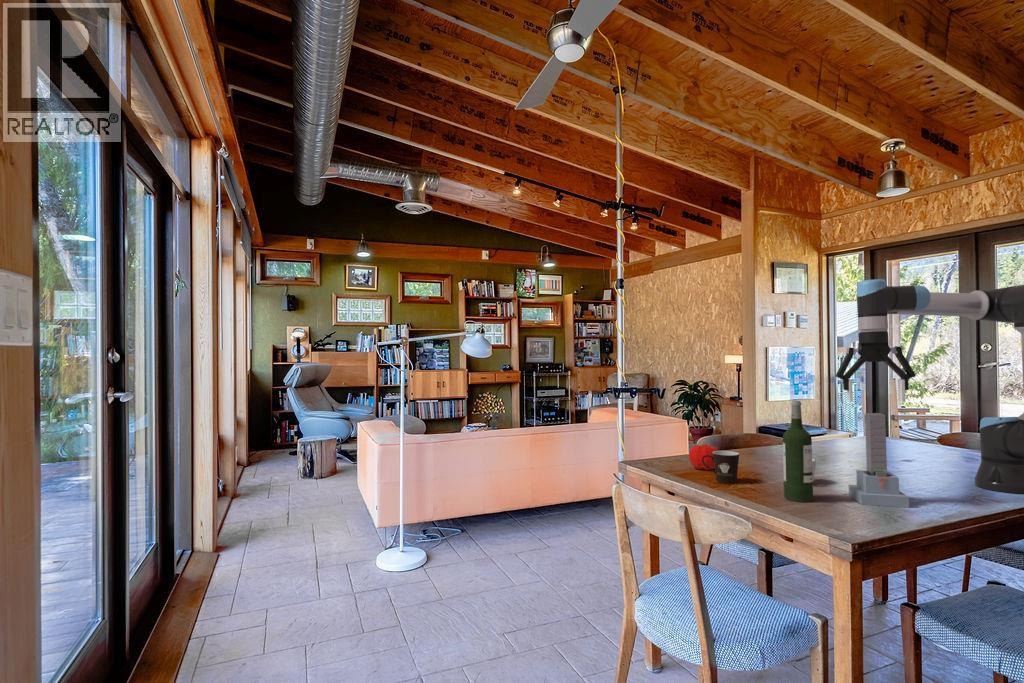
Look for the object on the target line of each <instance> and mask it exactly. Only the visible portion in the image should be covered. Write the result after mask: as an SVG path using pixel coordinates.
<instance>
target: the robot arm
mask: <svg viewBox="0 0 1024 683" xmlns="http://www.w3.org/2000/svg"><path fill="white" fill-rule="evenodd" d="M855 296H856V305H857V307H856V308H857V309H856V310H857V330H858V331H860V332H858V336H857V337H858V347H857V348H856V347H855V348H854V347H847V348H846V353H845V354H846V355H845V356H844V358H843V360H842V362H841V364H840V366H839V368H838V370H837V372H836V374H835V377H836V378H838V379H842V388H843V391H846V397H847V398H846V399H847V400H846V401H847V402H850V403H853V402H854V397H853V396H854V395H853V393H854V391H853V380H852V379H851V378H852V376H853V375H855V373H856V372H857V371H859V368H861V367H862V366H863V364H865V363H866V362H868V363H872V362H873V363H874V362H878V363H879V362H880V363H881V362H883V363H884V364H886V365H887V366H888V367H889V368H890V369H891V370H892V371H893V372H894V373H895V374H896V375H897V376H898V377H900V378H899V379H897V386H898V387H897V388H898V401H899V402H902V403H904V402H905V403H906V391H908V390H909V380H910V379H912V378H915V377H917V376H916V373H915V370H914V369H913V368H912V366H911V364H910V363H909V362H908V360H907V358H906V357H905V355H904V353H903V348H902V347H901V346H897V345H896V346H894V347H890V346H889V343H890V342H889V340H890V339H889V332H888V331H887V330H888V329H889V324H888V323H889V322H888V321H889V320H888V319H889V318H888V315H907V316H908V315H910V316H911V315H912V316H913V315H915V316H936V317H937V316H941V317H966V318H968V319H970V320H972V321H987V322H988V321H989V322H995V323H996V322H997V323H1006V324H1013V328H1014V330H1016V332H1018V333H1020V339H1021V340H1020V341H1021V342H1020V343H1021V344H1020V345H1021V363H1022V367H1021V368H1022V387H1023V388H1022V389H1023V392H1022V393H1023V395H1024V284H1020V285H1014V286H1013V285H1011V286H1006V287H1001V288H1000V287H999V288H995V289H987V290H986V289H985V290H984V289H983V290H973V291H971V292H969V293H967V292H966V293H965V292H964V293H963V292H935V291H930V290H929V288H928V287H926V286H924V285H915V284H913V285H897V286H890V285H889V286H888V285H887V281H886V280H885V279H882V278H879V279H878V278H877V279H874V278H873V279H866V280H865V279H864V280H861V281H859V282H858V283H857V284H856V295H855ZM857 353H858V355H859V358H857V360H856V361H855V363H854V364H852V365H851V367H850V368H849V369H848V367H849V365H850V362H851V361H852V359H853V357H854V356H855V355H856V354H857ZM890 353H892V354H893V355H894V356H895V358H896V359H897V361H898V362H899V365H901V367H902V369H901V367H899V366H898V365H897V363H896V362H894V361H893V359H892V358H891V357H890V356H889V354H890ZM847 369H848V370H847ZM846 370H847V371H846ZM903 370H904V371H903ZM979 442H980V464H979V466H978V468H977V472H976V474H975V476H974V485H975V486H976V487H979V488H982V489H985V490H990V491H995V492H1002V493H1010V494H1011V493H1012V494H1020V495H1021V494H1022V495H1023V494H1024V412H1022V414H1020V415H1018V416H991V417H990V416H988V417H987V416H985V417H983V418H981V419H980V422H979Z"/></svg>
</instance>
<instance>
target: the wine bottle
mask: <svg viewBox="0 0 1024 683" xmlns="http://www.w3.org/2000/svg"><path fill="white" fill-rule="evenodd" d="M790 405H791V406H790V407H791V413H790V414H791V417H790V418H791V419H790V421H791V422H790V424H791V425H790V427H789V428H788V429H787V430H786V431H785V432H784V433H783V434H782V461H783V464H782V466H783V469H782V470H783V471H782V472H783V496H784V498H785V500H788V501H791V502H796V503H810V502H813V501H814V487H813V486H814V481H813V475H812V459H813V448H812V447H813V445H812V436H811V434H810V432H808V431H807V430H806V429H805V428H804V426H803V419H802V418H803V417H802V407H801V406H802V402H801V400H794V399H793V400H791V402H790Z"/></svg>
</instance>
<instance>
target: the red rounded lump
mask: <svg viewBox="0 0 1024 683" xmlns="http://www.w3.org/2000/svg"><path fill="white" fill-rule="evenodd" d="M714 451H720V450H719V449H718V448H717V447H715V446H710V445H709V444H706V443H703V444H697V445H694V446H693V447H691V448H690V450H689V455H688V458H689V462H690V463H691V466H692V467H694V468H695V469H698V470H700V469H702V470H706V471H711V470H710V469H708V468H707V467H706V466H705V465H704V464H703V462H702V458H703V456H705V455H710V456H712V457H713V452H714ZM704 463H705V464H706V465H707V466H708V467H710V468H711V469H713V470H715V466H714V462H713V460H712V459H711V458H710V457H705V458H704Z"/></svg>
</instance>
